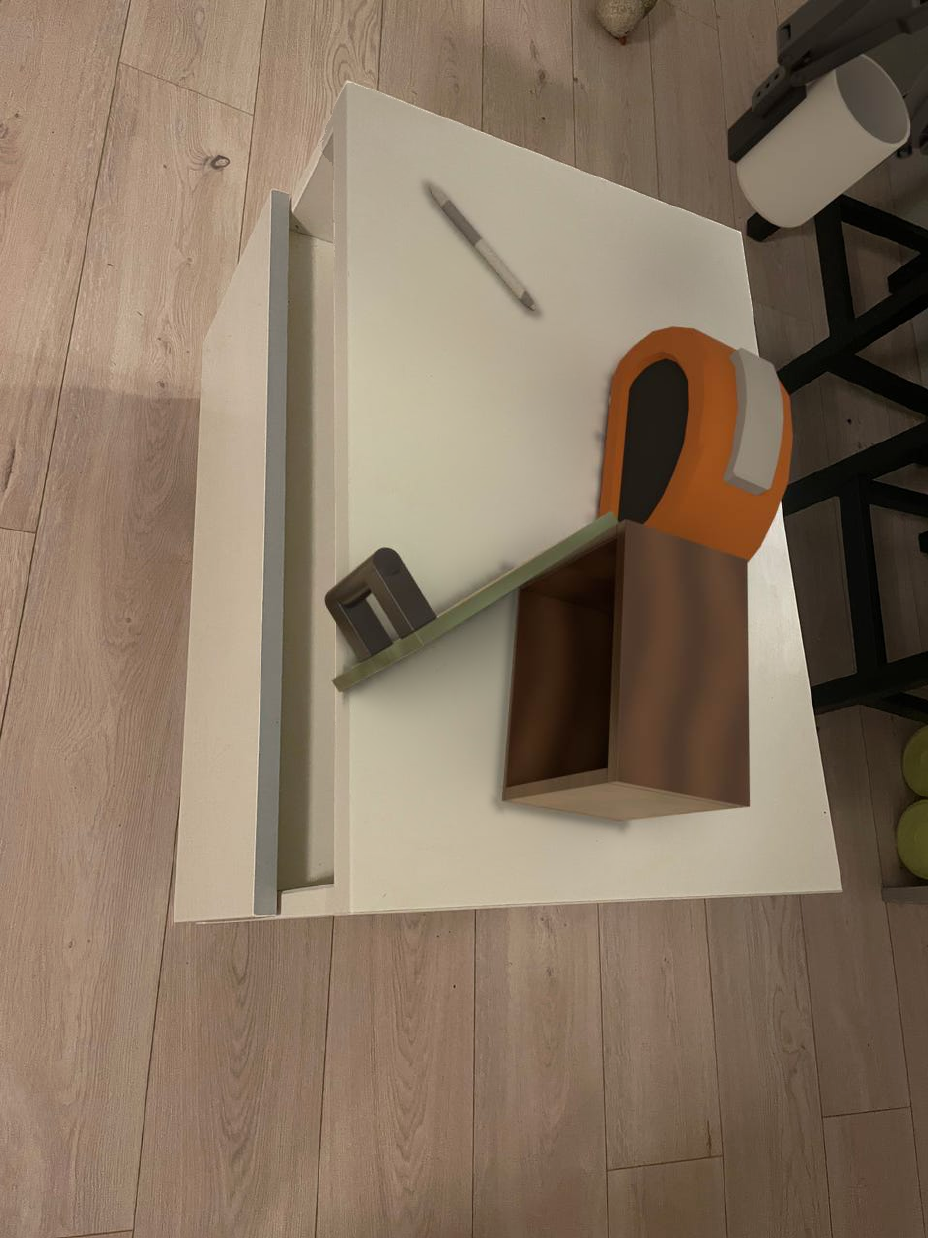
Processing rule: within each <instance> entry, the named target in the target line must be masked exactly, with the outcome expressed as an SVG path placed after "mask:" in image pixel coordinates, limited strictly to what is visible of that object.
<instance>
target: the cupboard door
mask: <svg viewBox="0 0 928 1238" xmlns="http://www.w3.org/2000/svg"><path fill="white" fill-rule="evenodd" d="M618 523H619V522H618V520H617V518H616V517H615V515H614V513H613V512H612V511H610V512H608V513H606V514H605V515H603V516H601V517H600V518H599V517H598V518H596V519H595V520H593V521H591V522H590V523H588V524H586V525H584V526H583V527H581V528H579V529H578V530H576V531H574V532H573V533H571V534H569V535H567V536H566V537H563V538H562V539H561V540H559V541H557V542H556V543H554V544H552V545H551V546H549V547H547V548H546V549H544V550H543V551H541V552H538V553H537V554H536V555H533V556H532V557H530V558H529V559H527V560H525V561H524V562H522V563H520V564H518V565H517V566H515V567H513V568H512V569H510V570H509V571H506V572H505V573H503V574H502V575H500V576H499V577H497V578H495V579H494V580H492V581H490V582H489V583H488V584H486V585H484V586H482V587H480V588H479V589H478V590H475V592H472V593H471V594H470V595H467V596H466V597H465V598H463V599H461V600H459V601H458V602H456V603H454V604H453V605H452V606H450V607H448V608H447V609H445V610H443V611H442V612H440V613H439V614H436V613H435V612H434V610H433V608H432V607H431V605H430V603H429V601H428V600H427V598H426V596H425V595H424V593H423V592H422V590H421V589H420V587H419V585H418V583H417V582H416V580H415V579H414V577H413V576H412V574H411V572H410V571H409V569H408V567H407V565H406V564H405V562H404V561H403V559H402V557H401V556H400V553H398V552H397V551H396V550H395V549H393V548H390V547H387V546H386V547H385V546H384V547H380V548H378V549H377V550H375V551H373V553H372V554H371V555H369V556H368V557H367V558H365V560H363V561H362V562H361V563H360V564H359V565H358V566H356V567H355V568H354V569H353V570H352V571H350V572H349V573H348V574H346V576H344V577H342V579H341V580H339V581H338V582H337V583H336V584H335V585H333V586H332V587H331V588H330V589H329V590H328V591H326V594H325V596H324V605H325V608H326V609H327V611H328V612H329V614H330V616H331V617H332V619H333V620H334V622H335V624H336V626H337V627H338V629H339V630H340V632H341V633H342V636H343V637H344V638H345V640H346V641H347V643H348V645H349V647H350V648H351V651H353V653H354V655H355V657H356V658H357V659H358V662H359V663H357V664H356V665H354V666H353V667H351V668H349V669H348V670H346V671H344V672H343V673H341V674H340V675H337V676H336V677H335V678H333V679H331V682H332V683H333V685H334V687H335V688H336V690H337V692H339V693H341V692H342V691H344V690H346V689H348V688H350V687H351V686H354V685H356V684H357V683H359V682H361V681H363V680H364V679H366V678H368V677H370V676H372V675H374V674H376V673H378V672H379V671H381V670H383V669H385V668H387V667H388V666H391V665H392V664H394V663H396V662H398V661H400V660H401V659H404V658H405V657H407V656H409V655H411V654H413V653H415V652H416V651H418V650H420V649H422V648H425V646H427V645H428V644H430V643H432V642H434V641H436V640H437V639H438V638H440V637H441V636H443V635H444V634H446V633H448V632H449V631H452V629H454V628H456V627H457V626H459V625H460V624H462V623H464V622H465V621H467V620H468V619H470V618H472V617H473V616H475V615H476V614H478V613H479V612H481V611H482V610H484V609H486V608H487V607H489V606H490V605H492V604H493V603H495V602H497V601H498V600H500V599H501V598H503V597H504V596H506V595H508V594H509V593H511V592H512V591H514V590H516V589H518V587H519V586H520V585H522V584H523V583H525V582H527V581H528V580H530V579H531V578H533V577H534V576H536V575H538V574H539V573H541V572H542V571H544V570H546V569H547V568H549V567H550V566H552V565H553V564H555V563H557V562H558V561H560V560H561V559H563V558H565V557H566V556H568V555H569V554H571V553H572V552H574V551H576V550H577V549H579V548H580V547H582V546H583V545H585V544H587V543H588V542H590V541H591V540H593V539H595V538H596V537H598V536H599V535H601V534H602V533H604V532H606V531H607V530H609V529H610V528H612V527H613V526H615V525H617V524H618ZM372 595H373V596H374V598H375V600H376V602H377V603H378V604H379V606H380V608H381V609H382V612H383V613H384V614H385V616H386V617H387V619H388V621H389V623H390V624H391V625H392V627H393V629H394V631H395V632H396V634H397V636H398V639H396V640H394V641H392V639H391V637H390V635H389V633H388V632H387V630H386V629H385V627H384V626H383V625H382V623H381V621H380V619H379V618H378V616H377V615H376V613H375V611H374V609H373V608H372V605H371V604H370V603H369V602H368V600H367V599H368V598H369V597H370V596H372Z"/></svg>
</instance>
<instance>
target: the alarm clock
mask: <svg viewBox="0 0 928 1238" xmlns="http://www.w3.org/2000/svg"><path fill="white" fill-rule="evenodd" d="M610 391H611V392H610V395H609V397H608V406H609V410H608V420H607V432H606V441H605V450H604V460H603V469H602V470H603V471H602V481H601V492H600V503H599V512H598V518H600V517H601V516H603V515H605V514H606V513H608V512H610V511H612V512H613V513H614V515H615V517H616V518H617V520H618V522H619V523H620V522H622V521H624V520H625V519H627V520H630V521H633V522H636V523H639V524H642V525H645V526H648V527H651V528H654V529H657V530H660V531H663V532H666V533H669V534H672V535H675V536H678V537H681V538H684V539H687V540H690V541H693V542H696V543H699V544H702V545H705V546H708V547H711V548H714V549H717V550H720V551H723V552H726V553H729V554H732V555H735V556H738V557H741V558H744V559H747V560H748V563H749V562H750V561H751V560H752V558H753V557H754V556H755V555H756V553H757V552H758V551H759V549H760V548H761V547H762V545H763V543H764V541H765V538H766V537H767V535H768V533H769V530H770V528H771V526H772V524H773V522H774V521H775V519H776V516H777V513H778V510H779V508H780V505H781V503H782V500H783V497H784V494H785V492H786V489H787V487H788V484H789V477H790V468H791V461H792V460H791V459H792V449H793V439H794V434H793V433H794V432H793V422H792V411H791V410H792V409H791V399H790V396H789V393H788V391H787V390H786V388H785V387H784V385H783V383H782V382H781V380H780V379H779V376H778V374H777V372H776V368H775V366H774V364H773V363H772V362H770V361H769V360H766V359H764V358H762V357H760V356H758V355H757V354H754V353H753V352H751V351H749V350H747V349H744V347H743V348H742V347H739V348H738V349H736V348H734V347H732V346H730V345H727V344H726V343H724V342H722V341H720V340H719V339H716V338H714V337H712V336H711V335H708V334H706V333H704V332H702V331H700V330H699V329H697V328H695V327H694V328H693V327H685V326H674V325H672V326H669V327H664V328H660V329H656V330H652V331H651V332H650V333H648V334H647V335H646V336H644V337H643V338H642V339H640V340H639V341H638V342H636V343H635V344H634V345H633V346H632V347H631V348H630V349H629V350H628V351H627V352H626V353H625V354H624V356H623V357H622V358H621V359H620V360H619V362H618V364H617V366H616V368H615V370H614V373H613V375H612V378H611V390H610Z"/></svg>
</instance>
